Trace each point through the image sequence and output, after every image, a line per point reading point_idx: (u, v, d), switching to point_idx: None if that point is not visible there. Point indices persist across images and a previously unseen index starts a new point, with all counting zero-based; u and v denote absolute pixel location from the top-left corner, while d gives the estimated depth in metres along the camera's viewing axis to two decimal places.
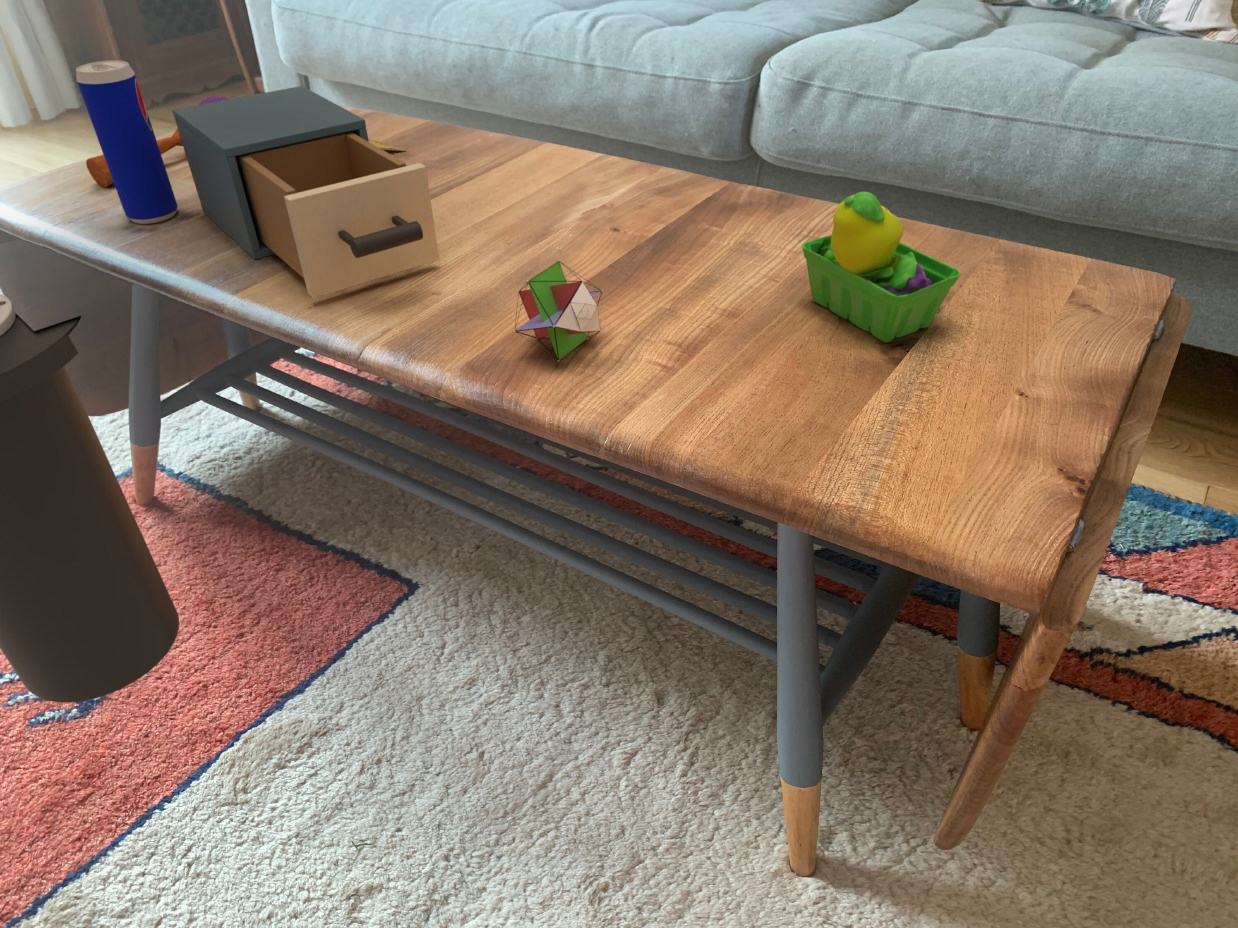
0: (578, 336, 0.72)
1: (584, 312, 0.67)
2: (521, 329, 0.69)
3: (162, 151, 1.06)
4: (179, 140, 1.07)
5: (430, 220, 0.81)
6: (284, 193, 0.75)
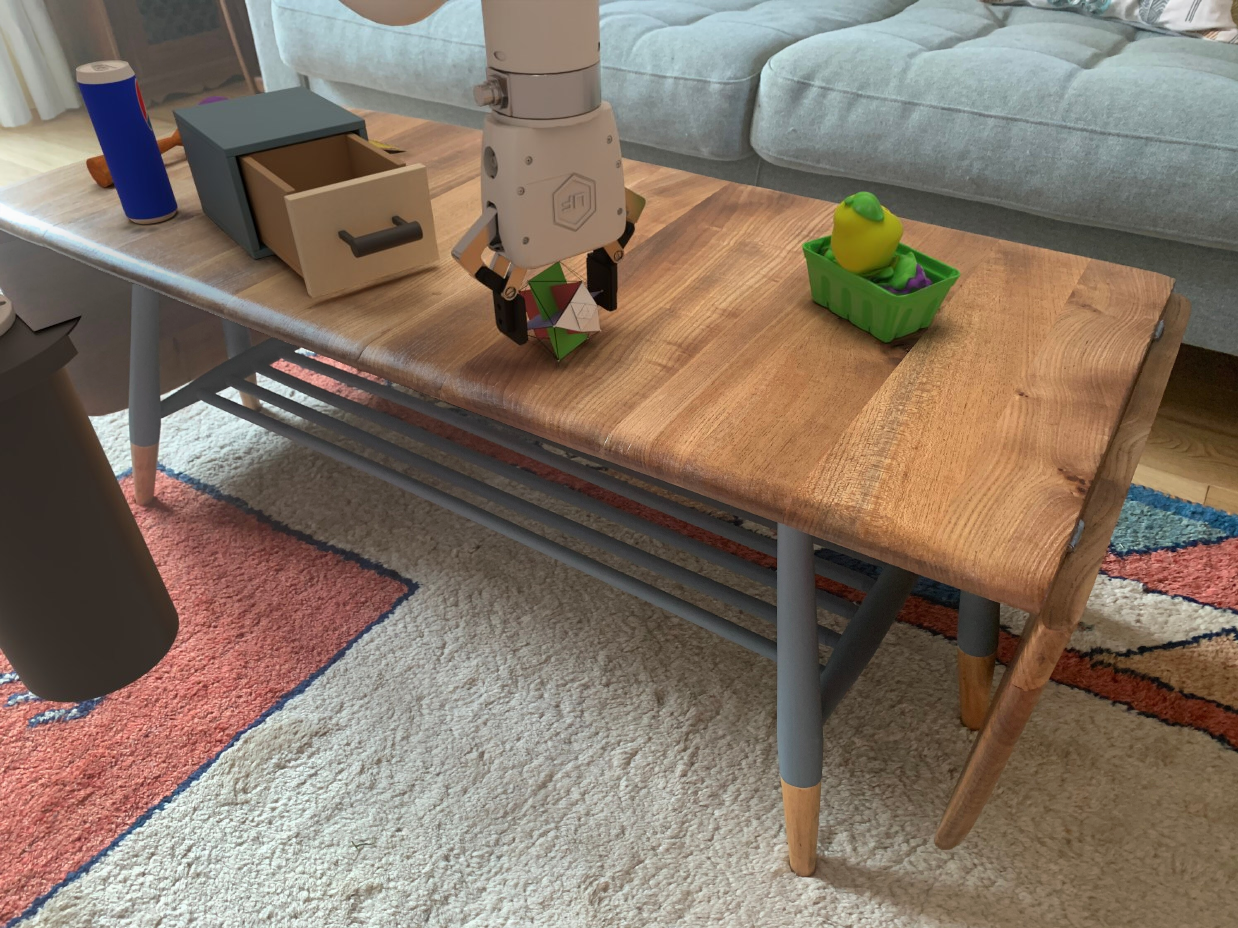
0: (578, 336, 0.72)
1: (584, 312, 0.67)
2: None
3: (162, 151, 1.06)
4: (179, 140, 1.07)
5: (430, 220, 0.81)
6: (284, 193, 0.75)
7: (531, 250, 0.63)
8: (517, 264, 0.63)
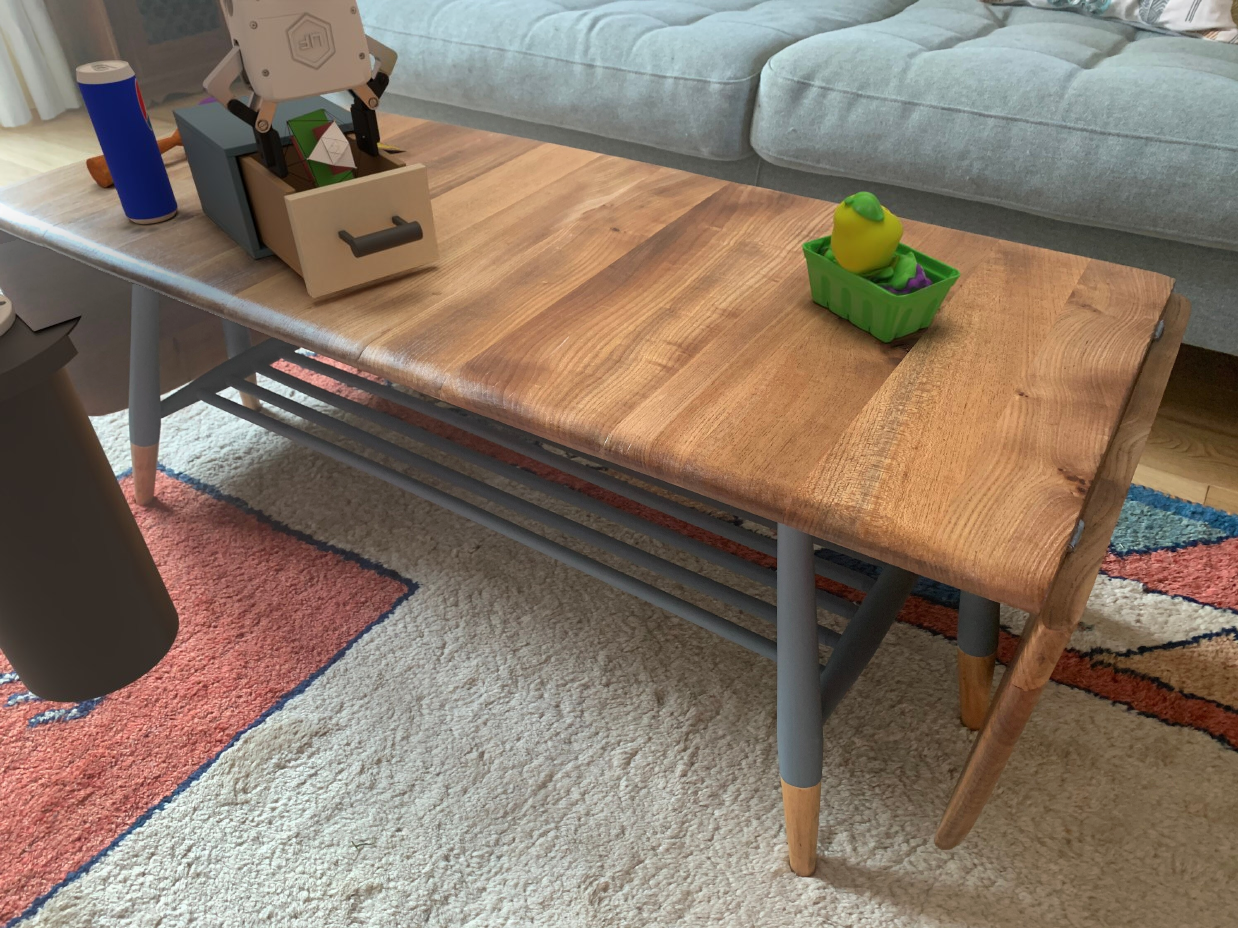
0: (345, 179, 0.81)
1: (335, 147, 0.76)
2: None
3: (162, 151, 1.06)
4: (179, 140, 1.07)
5: (430, 220, 0.81)
6: (284, 193, 0.75)
7: (272, 83, 0.72)
8: (261, 96, 0.72)
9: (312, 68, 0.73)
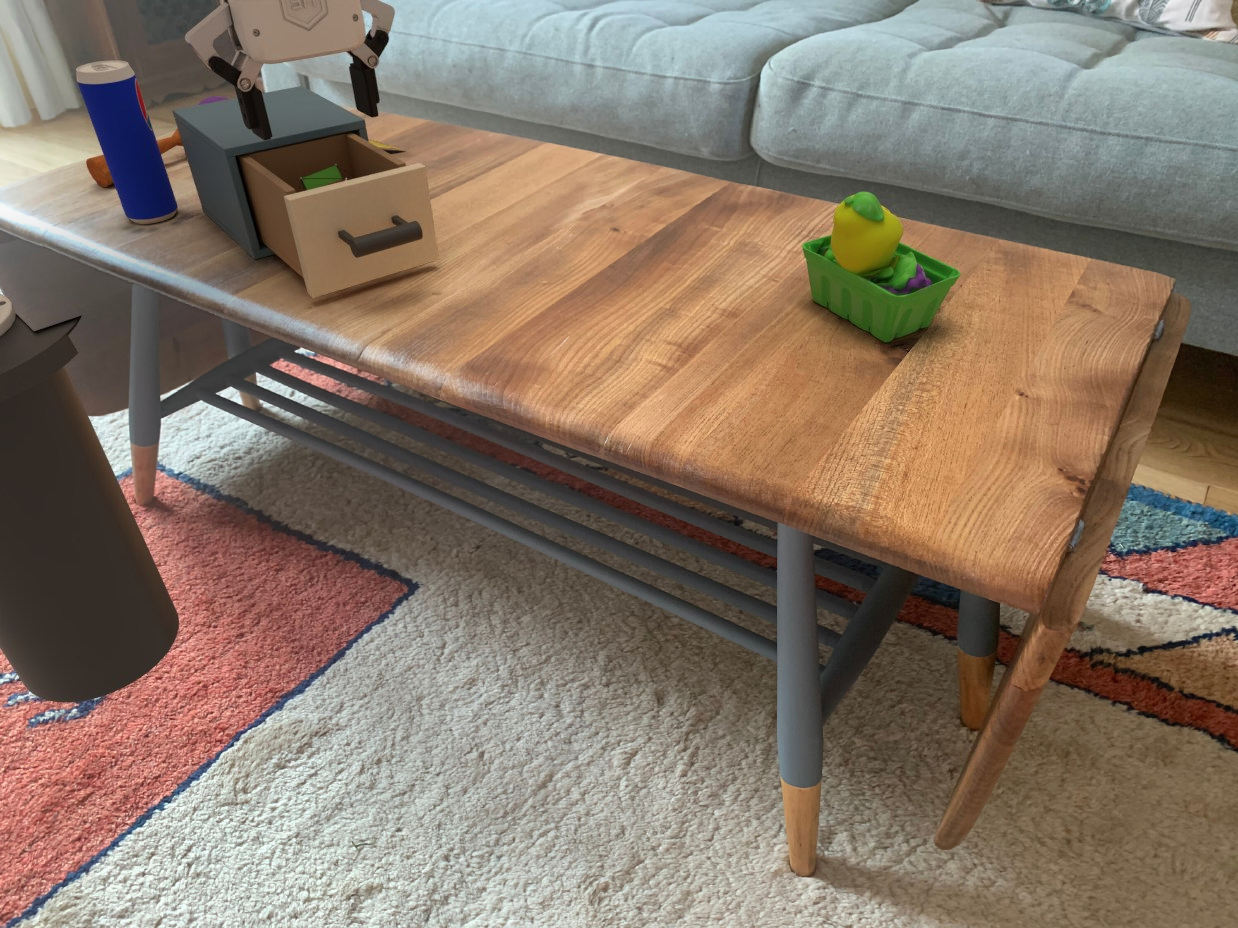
0: None
1: None
2: None
3: (162, 151, 1.06)
4: (179, 140, 1.07)
5: (430, 220, 0.81)
6: (284, 193, 0.75)
7: (263, 43, 0.70)
8: (252, 57, 0.70)
9: (304, 29, 0.71)
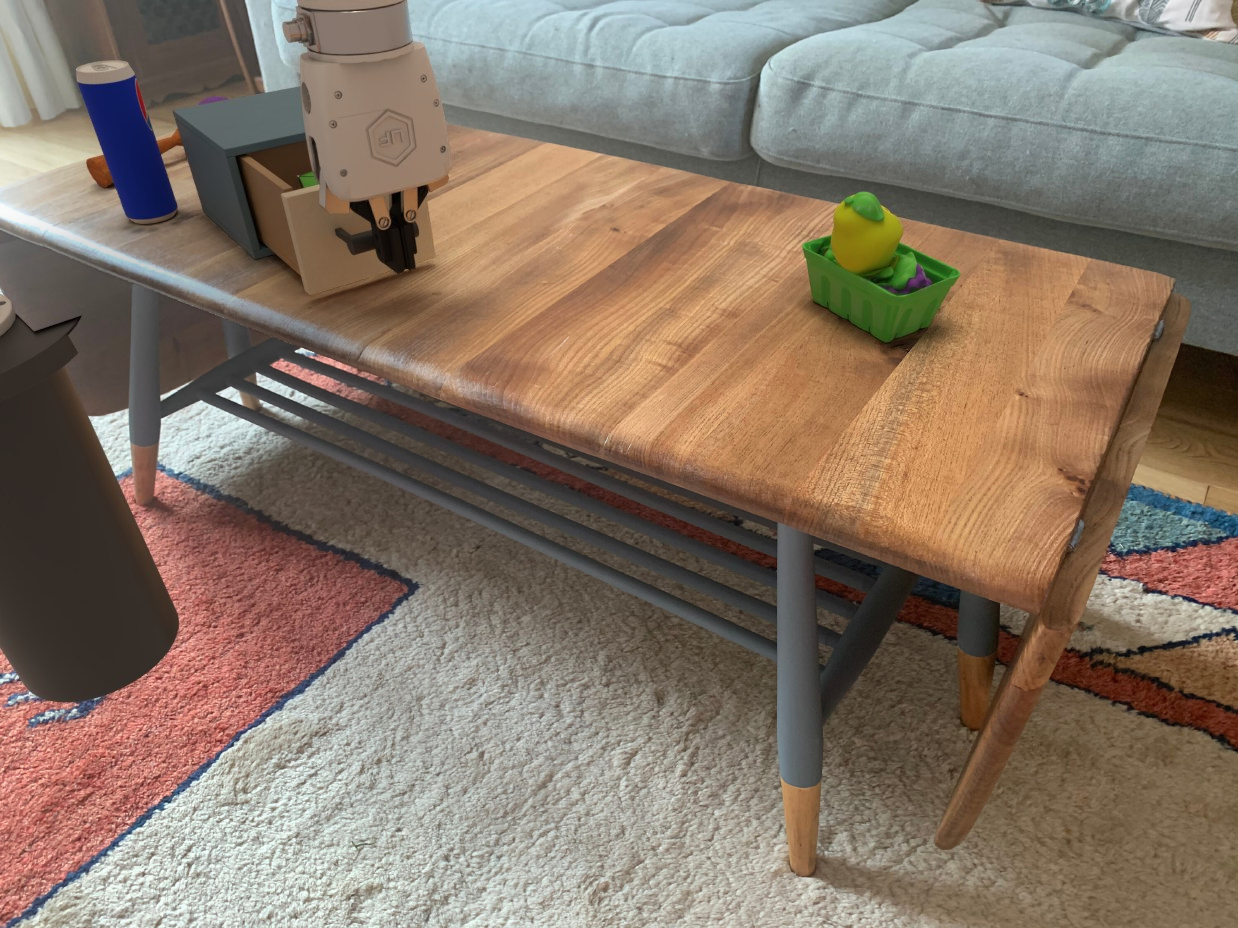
0: None
1: None
2: None
3: (162, 151, 1.06)
4: (179, 140, 1.07)
5: (426, 218, 0.81)
6: (281, 191, 0.75)
7: (350, 182, 0.66)
8: (338, 196, 0.67)
9: (391, 165, 0.68)
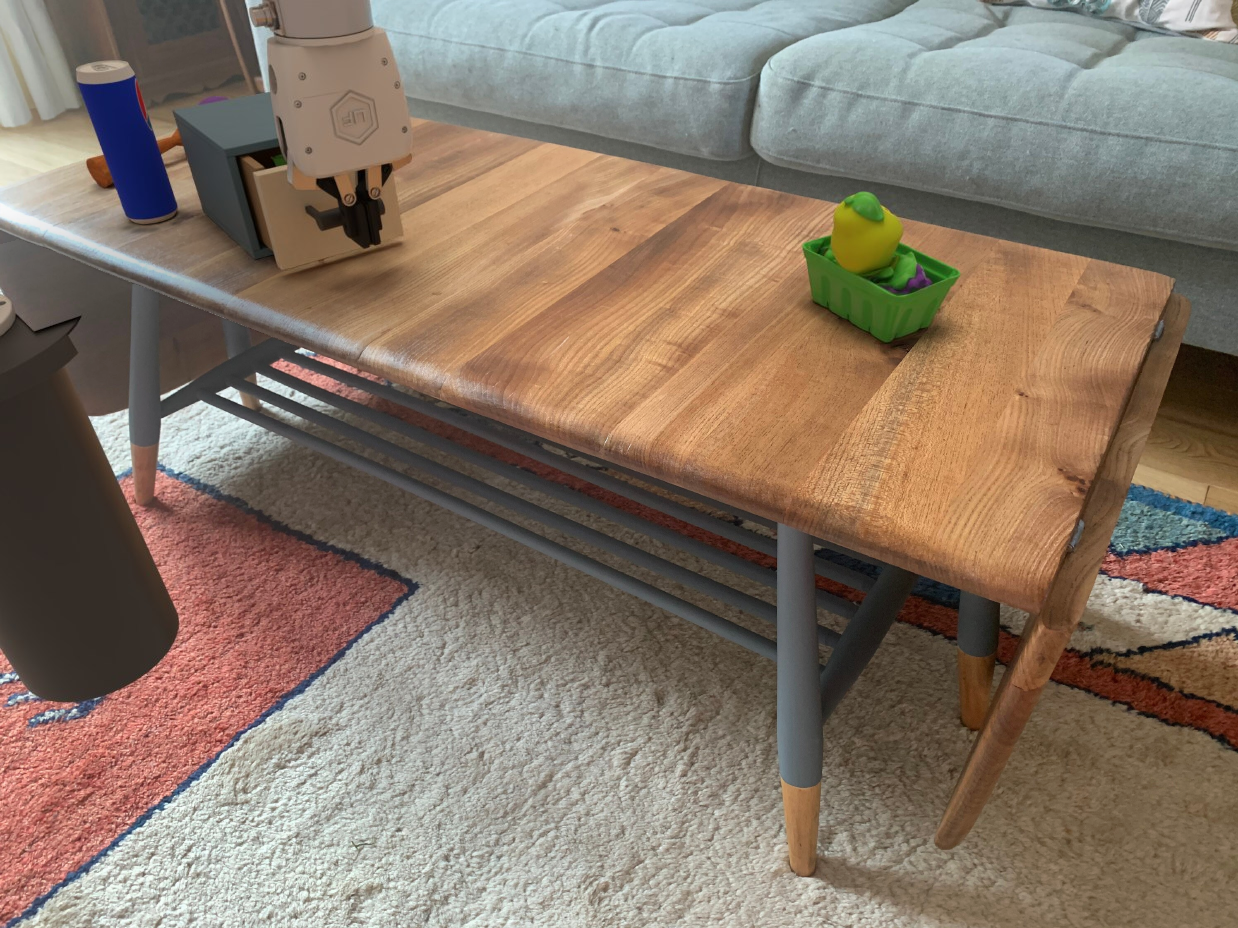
0: None
1: None
2: None
3: (162, 151, 1.06)
4: (179, 140, 1.07)
5: (394, 197, 0.85)
6: (253, 170, 0.79)
7: (315, 160, 0.71)
8: (304, 172, 0.71)
9: (355, 144, 0.72)
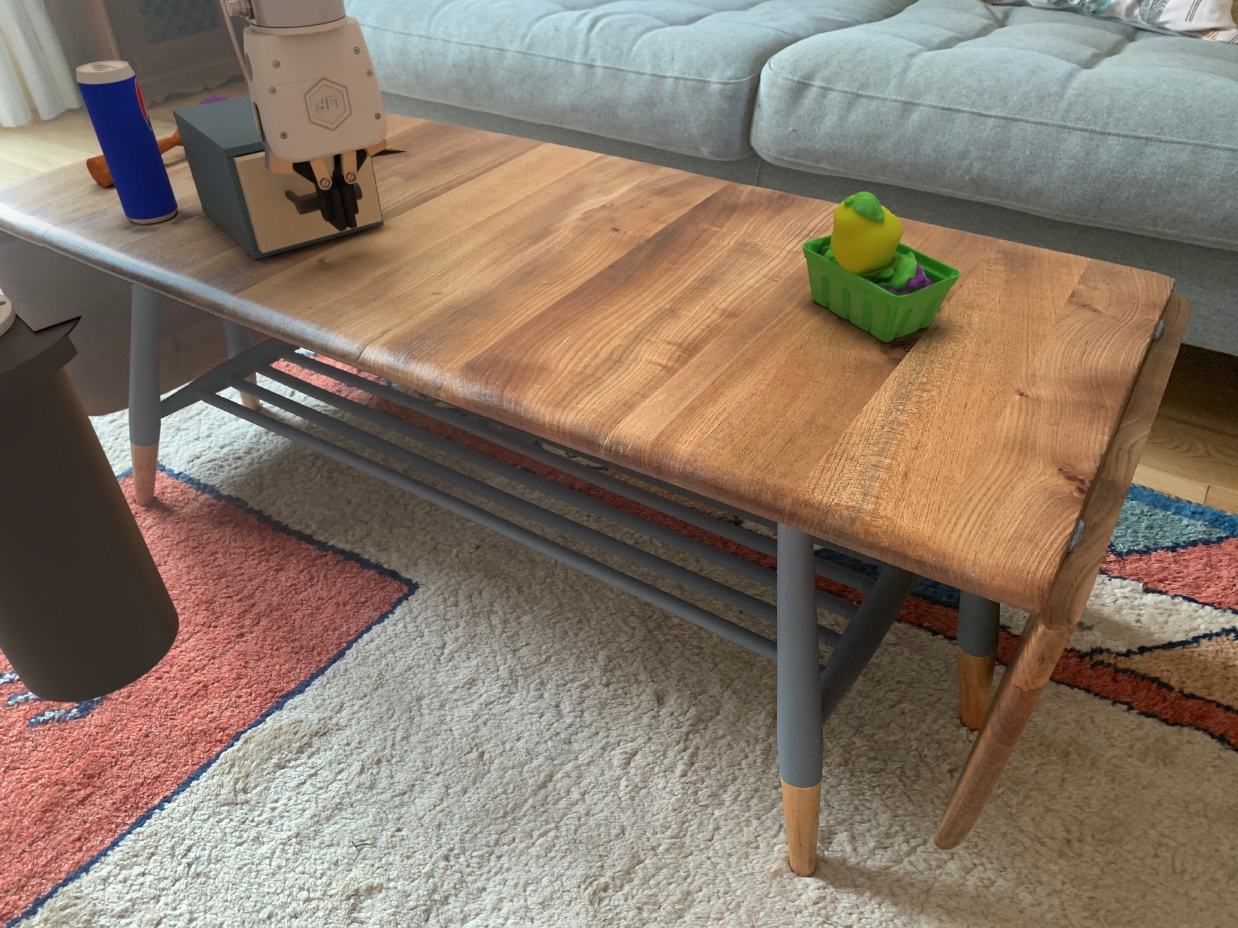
0: None
1: None
2: None
3: (162, 151, 1.06)
4: (179, 140, 1.07)
5: (372, 183, 0.89)
6: (235, 157, 0.82)
7: (290, 145, 0.74)
8: (279, 157, 0.74)
9: (329, 129, 0.75)
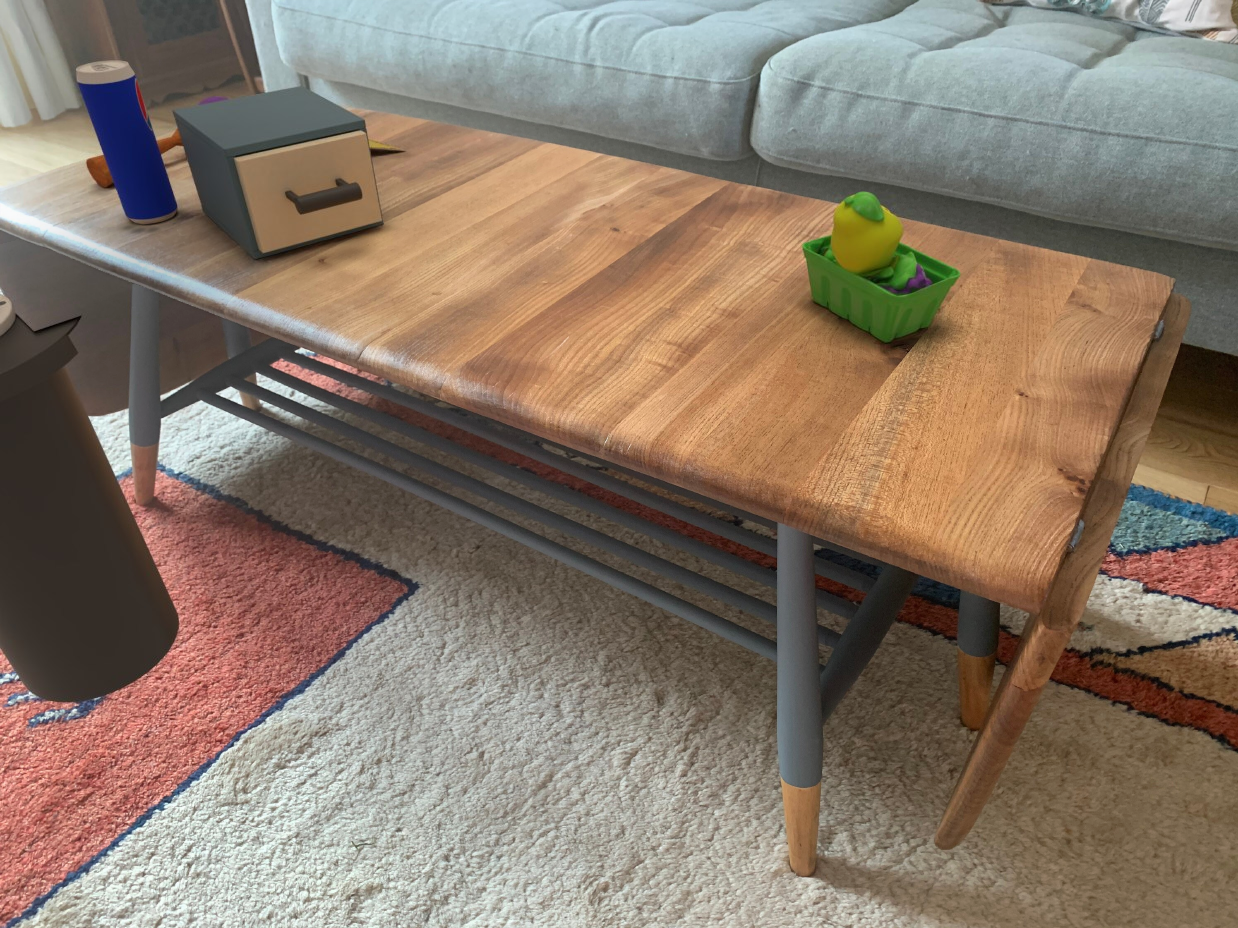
0: None
1: None
2: None
3: (162, 151, 1.06)
4: (179, 140, 1.07)
5: (372, 183, 0.89)
6: (235, 157, 0.82)
7: None
8: None
9: None
